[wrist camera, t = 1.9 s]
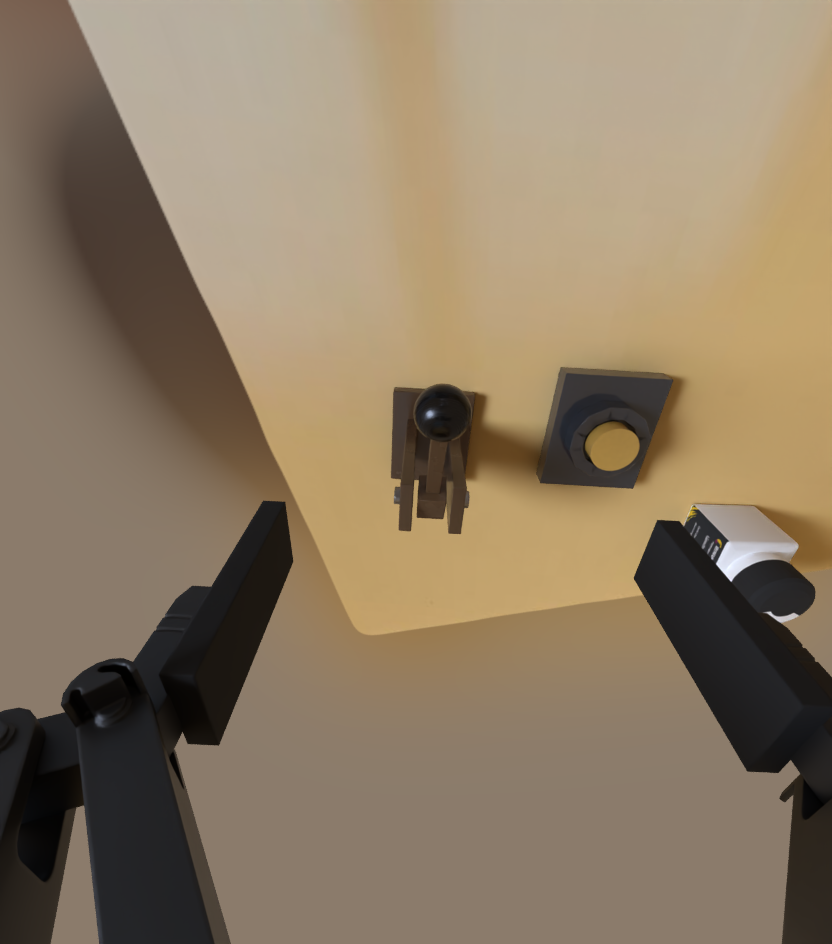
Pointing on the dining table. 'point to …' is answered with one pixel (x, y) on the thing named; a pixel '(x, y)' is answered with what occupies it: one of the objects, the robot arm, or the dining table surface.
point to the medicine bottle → (752, 557)
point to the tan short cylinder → (612, 446)
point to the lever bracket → (425, 461)
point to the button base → (599, 422)
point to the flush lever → (439, 441)
